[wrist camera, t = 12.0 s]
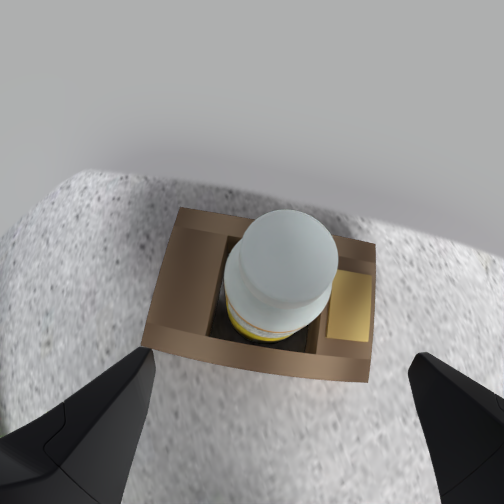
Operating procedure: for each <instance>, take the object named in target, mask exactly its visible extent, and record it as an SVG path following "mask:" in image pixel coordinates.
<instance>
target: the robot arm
mask: <svg viewBox="0 0 504 504" xmlns="http://www.w3.org/2000/svg"><path fill="white" fill-rule="evenodd" d="M155 372H156V367H155V361H154V355H153V351H152V349H151V348H147V347H138V348H136V349H135V350H134V351H132V352H131V353H130V354H128V355H127V356H125V357H124V358H123V359H121V360H120V361H119V362H117V363H116V364H114V365H113V366H112V367H110V368H109V369H108V370H106V371H105V372H103V373H102V374H101V375H99V376H98V377H96V378H95V379H94V380H92V381H91V382H90V383H88V384H87V385H85V386H84V387H83V388H81V389H80V390H78V391H77V392H76V393H74V394H73V395H71V396H70V397H69V398H67V399H66V400H64V402H61V403H60V404H59V405H57V406H56V407H54V408H53V409H51V410H50V411H48V412H47V413H45V414H44V415H42V416H41V417H39V418H37V419H36V420H34V421H32V422H30V423H28V424H27V425H25V426H23V427H21V428H19V429H17V430H15V431H13V432H12V433H10V434H8V435H6V436H4V437H2V438H0V504H121V500H122V497H123V493H124V489H125V486H126V482H127V478H128V475H129V471H130V468H131V465H132V461H133V458H134V454H135V451H136V448H137V445H138V441H139V438H140V435H141V432H142V429H143V425H144V422H145V419H146V416H147V412H148V408H149V402H150V397H151V392H152V387H153V382H154V377H155ZM408 378H409V382H410V386H411V390H412V394H413V398H414V403H415V407H416V410H417V414H418V417H419V420H420V423H421V426H422V429H423V433H424V436H425V439H426V443H427V446H428V450H429V453H430V457H431V461H432V464H433V468H434V472H435V476H436V481H437V485H438V489H439V494H440V499H441V504H504V399H503V398H502V397H500V396H498V395H497V394H494V393H493V392H492V391H490V390H489V389H487V388H485V387H484V386H482V385H480V384H479V383H477V382H475V381H474V380H472V379H471V378H469V377H467V376H466V375H464V374H462V373H461V372H459V371H457V370H456V369H454V368H453V367H451V366H449V365H448V364H446V363H444V362H443V361H441V360H439V359H438V358H436V357H434V356H433V355H431V354H429V353H428V352H422V353H418V354H416V356H415V358H414V360H413V362H412V364H411V366H410V368H409V370H408Z"/></svg>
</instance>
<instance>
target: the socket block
mask: <svg viewBox="0 0 504 504" xmlns="http://www.w3.org/2000/svg"><path fill="white" fill-rule="evenodd" d="M254 221H255V220H254V219H248V218H242V217H237V216H231V215H225V214H219V213H214V212H208V211H202V210H195V209H189V208H183V207H180V209H179V212H178V215H177V218H176V221H175V224H174V227H173V230H172V233H171V236H170V239H169V242H168V245H167V249H166V252H165V255H164V258H163V262H162V265H161V269H160V272H159V275H158V279H157V283H156V286H155V290H154V293H153V297H152V301H151V305H150V309H149V312H148V316H147V320H146V325H145V329H144V333H143V337H142V341H141V346H144V347H148V348H151V349H155V350H158V351H162V352H166V353H170V354H174V355H178V356H182V357H186V358H190V359H194V360H199V361H203V362H208V363H212V364H217V365H222V366H227V367H233V368H238V369H244V370H250V371H256V372H262V373H269V374H276V375H283V376H291V377H299V378H309V379H319V380H331V381H345V382H364V383H368V379H369V371H370V362H371V352H372V341H373V329H374V312H375V284H376V248H375V244H373V243H369V242H364V241H360V240H355V239H350V238H346V237H341V236H336V235H331V236H332V237H333V239H334V241H335V244H336V247H337V252H338V267H337V272H336V275H335V277H334V279H333V281H332V289H331V294H330V297H329V300H328V302H327V304H326V306H325V307H324V309H323V311H322V312H321V313H320V314H319V315H318V316H317V317H316V318H315V319H314V320H313V321H312V322H310V323H309V325H308V333H307V340H306V347H305V353H300V352H292V351H285V350H279V349H272V348H266V347H260V346H254V345H248V344H242V343H237V342H232V341H227V340H221V339H217V338H212V337H210V336H211V331H212V326H213V321H214V317H215V312H216V307H217V302H218V298H219V293H220V288H221V284H222V279H223V275H224V270H225V266H226V261H227V257H228V253H229V254H230V253H231V251H232V249H233V248H234V246H235V245H236V244H237V243H238V242H239V241H240V240H241V239H242V238H243V235H244V233H245V231H246V230H247V229H248V227H249V226H250V225H251V223H252V222H254Z"/></svg>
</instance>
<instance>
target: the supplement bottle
mask: <svg viewBox="0 0 504 504" xmlns="http://www.w3.org/2000/svg"><path fill="white" fill-rule="evenodd" d="M337 267H338V252H337V247H336V244H335V241H334V239H333V237H332V236H331V234H330V233H329V231H328V230H327V229H326V227H325V226H324V225H323V224H322V223H320V222H319V221H318V220H316V219H315V218H313V217H312V216H310V215H308V214H306V213H303V212H300V211H296V210H290V209H282V210H275V211H271V212H268V213H266V214H264V215H262V216H260V217H258V218H257V219H256V220H255V221H254V222H252V223H251V225H250V226H249V227H248V229H247V230H246V231H245V233H244V235H243V238H242V239H241V240H240V241H239V242H238V243H237V244H236V245H235V246H234V248H233V249H232V251H231V253H230V254H229V257H228V259H227V262H226V266H225V272H224V287H225V296H226V306H227V313H228V317H229V320H230V322H231V324H232V326H233V328H234V329H235V330H236V331H237V332H238V333H239V334H240V335H241V336H242V337H244V338H246V339H248V340H250V341H252V342H255V343H260V344H271V343H276V342H279V341H281V340H284V339H286V338H287V337H289V336H291V335H292V334H293V333H295V332H297V331H298V330H300V329H301V328H303V327H305V326H306V325H307V324H309V323H310V322H312V321H313V320H314V319H315V318H316V317H317V316H318V315H319V314H320V313H321V312H322V311H323V309H324V307H325V306H326V304H327V302H328V300H329V297H330V294H331V289H332V281H333V279H334V277H335V275H336V272H337Z"/></svg>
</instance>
